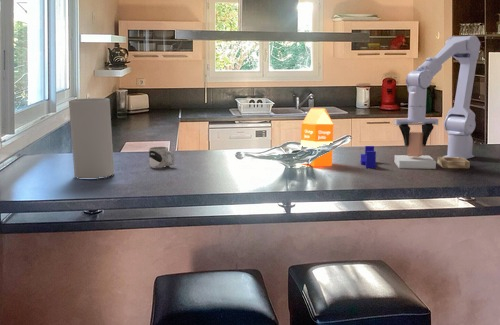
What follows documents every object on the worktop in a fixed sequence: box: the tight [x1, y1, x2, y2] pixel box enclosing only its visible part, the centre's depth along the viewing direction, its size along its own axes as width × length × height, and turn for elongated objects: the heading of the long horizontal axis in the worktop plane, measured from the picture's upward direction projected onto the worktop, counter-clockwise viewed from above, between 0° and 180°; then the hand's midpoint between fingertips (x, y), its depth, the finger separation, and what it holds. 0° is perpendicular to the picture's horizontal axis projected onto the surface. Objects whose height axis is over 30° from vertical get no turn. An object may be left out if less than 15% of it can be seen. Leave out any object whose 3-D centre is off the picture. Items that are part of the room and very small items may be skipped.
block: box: [406, 131, 424, 157], centre depth 185 cm, size 4×4×8 cm
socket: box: [436, 156, 471, 169], centre depth 185 cm, size 9×9×2 cm
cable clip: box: [360, 145, 377, 170], centre depth 188 cm, size 12×4×6 cm, turn 170°
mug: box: [148, 146, 176, 167], centre depth 189 cm, size 10×7×7 cm, turn 62°
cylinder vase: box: [68, 97, 115, 179], centre depth 174 cm, size 12×12×25 cm
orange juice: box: [300, 107, 334, 167], centre depth 189 cm, size 8×9×20 cm
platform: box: [394, 154, 437, 170], centre depth 187 cm, size 12×11×2 cm
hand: (415, 145), depth 186 cm, fingers closed on block, 5 cm apart
